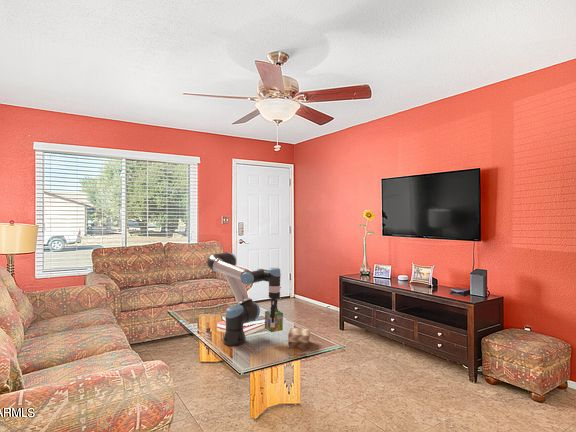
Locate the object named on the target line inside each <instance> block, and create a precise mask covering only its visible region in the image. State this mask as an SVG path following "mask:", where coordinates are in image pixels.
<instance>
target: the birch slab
mask: <svg viewBox="0 0 576 432" xmlns="http://www.w3.org/2000/svg"><path fill="white" fill-rule="evenodd" d="M310 334H311V330H310V328H297V327H296V328H295V327H294V328H292V327H290V328H289V332H288V334H287V337H288V338H287V343H288V342H305V343H309V344H310V336H311V335H310Z"/></svg>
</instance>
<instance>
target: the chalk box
mask: <svg viewBox="0 0 576 432" xmlns="http://www.w3.org/2000/svg"><path fill="white" fill-rule="evenodd" d="M277 309H278V307H277V308H275V328H274V327H271V317H270V316H271V307H270V310H266V311H264V329H265V330H266V331H268V332H270V333H274V332H280V331H283V330H284V329H283V327H284V312H281V311H279V310H278V311H277ZM273 316H274V315H273Z"/></svg>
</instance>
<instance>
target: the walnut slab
mask: <svg viewBox="0 0 576 432" xmlns="http://www.w3.org/2000/svg"><path fill="white" fill-rule="evenodd" d="M287 343H288V345H287V347H288V349H290V348H292V349H293V350H294V349H295V350H297V349H298V350H309V349H310V348H309V346H310V345H309V344H310V342H309V343H305V342H288V341H287Z"/></svg>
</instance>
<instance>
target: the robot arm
mask: <svg viewBox="0 0 576 432" xmlns="http://www.w3.org/2000/svg"><path fill="white" fill-rule="evenodd" d="M206 266H207V267H208V269H209V270H210V271H212V272H215V273H219V272H220V273H221V274H223V275H224V276H225V279H226V281H227V283H228V284H229V287H230V290H231V291H232V293H233V296H234V298H235V300H236V303H237V304H235V305H233V304H232V305H230V306H228V307H227V308H226V310H225V332H224V335H223V338H222V343H223V344H224V345H226V346H233V347H236V346H241V345H243V344H245V343H246V341H247V339H246V334H245V331H244V324H246V323H250V322H253V321H255V320H257V319H258V318H259V316H260V313H261V308H260V305H259V304H258V303H257V302H255V301H253V299H252V298H250V297H249V295H248V293H247V292H246V289H245V287H244V285H252V284H255V283H259V282H268V298H269V299H271V300H270V308H271V309H270V311H271V316H270V317H271V327H274V328H275V308H277V311H279V309H278V299H280V297H281V288H282V286H281V275H282V274H281V269H280V268H279V267H270V268H269V269H263V268H257V269H256V270H252V271H250V270H247V269H245V268H242V267H240V266H237V257H236V256H235V254H234V253H232V252H227V251H226V252H221V253H214V254H211V255H210V256H209V257H208V258H207V260H206ZM273 315H274V316H273Z"/></svg>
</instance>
